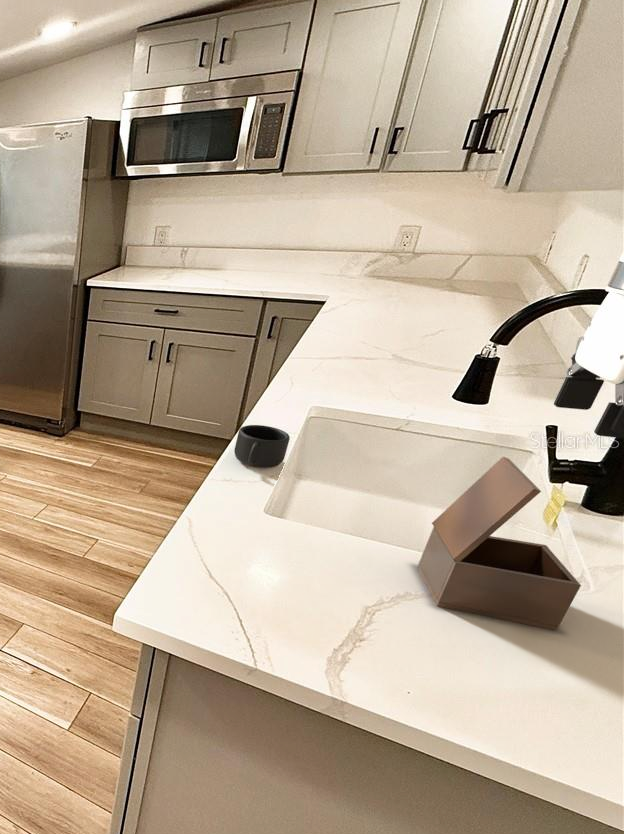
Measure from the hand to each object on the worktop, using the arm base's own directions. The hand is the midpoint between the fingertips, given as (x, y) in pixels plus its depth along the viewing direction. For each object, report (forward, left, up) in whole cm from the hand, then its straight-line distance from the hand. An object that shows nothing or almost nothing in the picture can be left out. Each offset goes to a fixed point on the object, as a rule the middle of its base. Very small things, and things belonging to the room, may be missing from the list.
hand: (591, 421), depth 75 cm
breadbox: (0, -4, -30) cm, 31 cm away
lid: (+4, -4, -16) cm, 17 cm away
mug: (+26, -41, -30) cm, 58 cm away
